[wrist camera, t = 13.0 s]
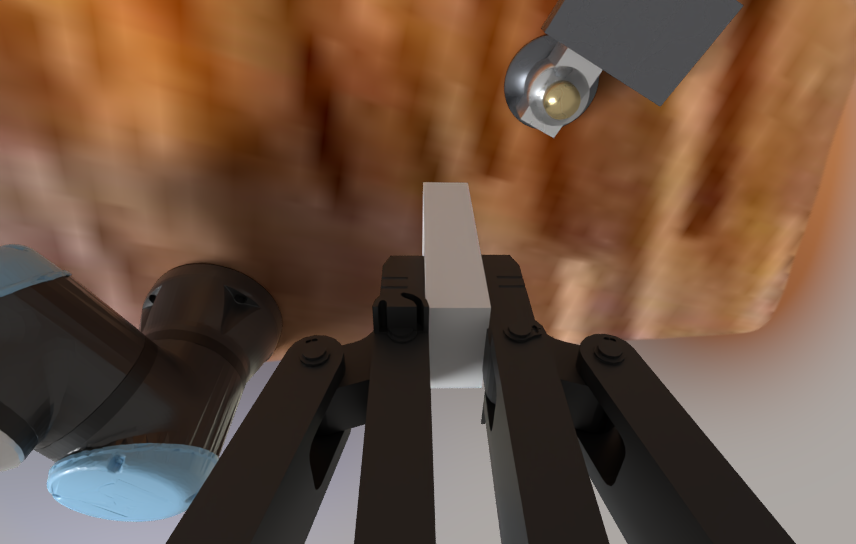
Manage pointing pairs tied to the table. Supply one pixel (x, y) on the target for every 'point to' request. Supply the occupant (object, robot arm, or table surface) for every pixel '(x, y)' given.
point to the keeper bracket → (622, 46)
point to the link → (545, 73)
